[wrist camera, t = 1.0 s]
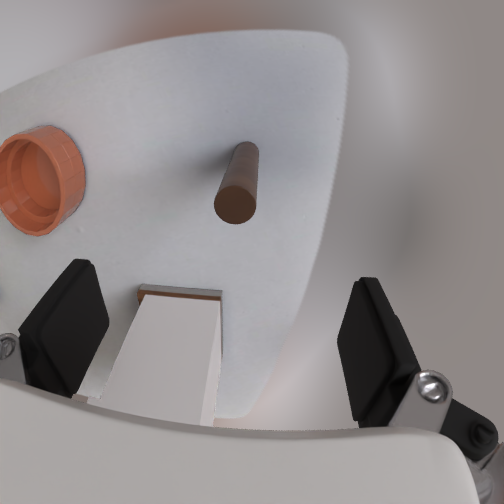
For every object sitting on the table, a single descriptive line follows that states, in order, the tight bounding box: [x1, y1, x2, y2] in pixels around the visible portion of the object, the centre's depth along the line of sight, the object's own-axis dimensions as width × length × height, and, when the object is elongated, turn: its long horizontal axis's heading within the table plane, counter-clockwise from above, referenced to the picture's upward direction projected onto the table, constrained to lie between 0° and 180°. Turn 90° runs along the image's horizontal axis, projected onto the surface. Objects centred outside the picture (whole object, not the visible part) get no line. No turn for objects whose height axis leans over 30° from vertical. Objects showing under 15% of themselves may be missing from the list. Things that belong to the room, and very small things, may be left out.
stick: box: [214, 142, 259, 224], centre depth 23 cm, size 2×2×14 cm
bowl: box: [0, 126, 85, 236], centre depth 28 cm, size 12×12×5 cm
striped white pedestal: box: [87, 284, 223, 427], centre depth 26 cm, size 11×11×35 cm
